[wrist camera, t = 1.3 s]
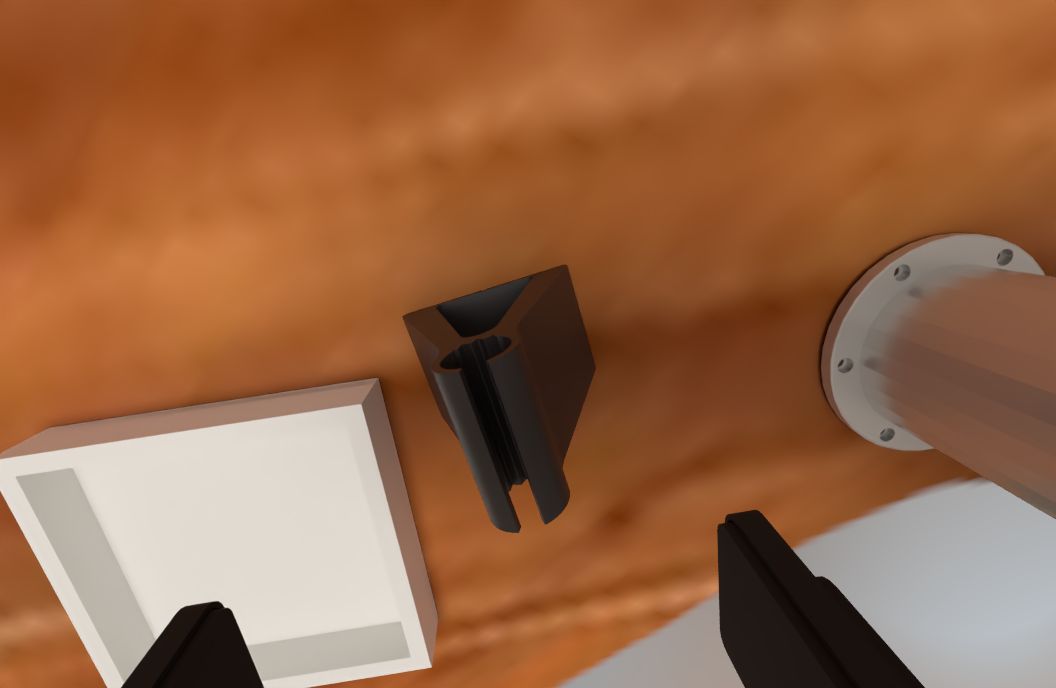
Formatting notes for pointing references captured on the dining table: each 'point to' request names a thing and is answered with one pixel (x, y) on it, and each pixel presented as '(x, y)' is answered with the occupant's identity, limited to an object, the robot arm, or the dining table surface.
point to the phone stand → (510, 384)
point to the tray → (234, 532)
